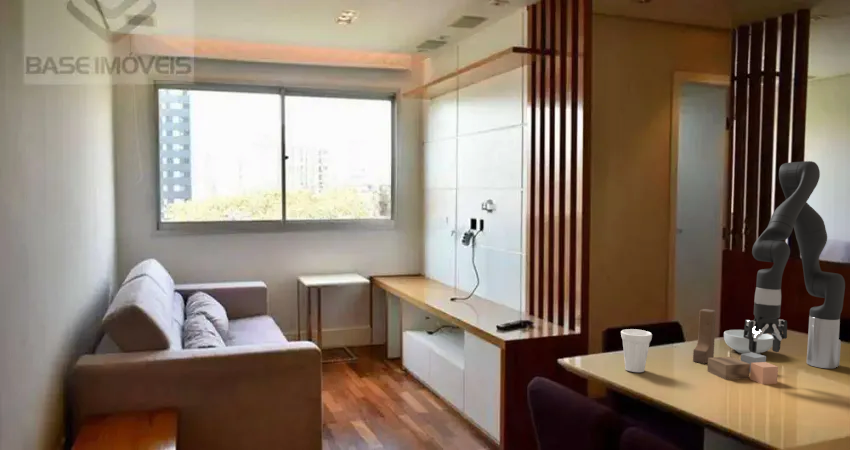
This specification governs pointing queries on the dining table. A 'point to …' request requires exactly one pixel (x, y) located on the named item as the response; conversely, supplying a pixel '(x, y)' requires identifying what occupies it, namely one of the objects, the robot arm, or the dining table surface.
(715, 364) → the walnut base block
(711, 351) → the wooden block
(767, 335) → the cereal bowl
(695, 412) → the dining table surface
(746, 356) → the slate cube
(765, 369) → the terracotta cube
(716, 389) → the dining table surface
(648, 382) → the dining table surface
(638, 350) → the cup
